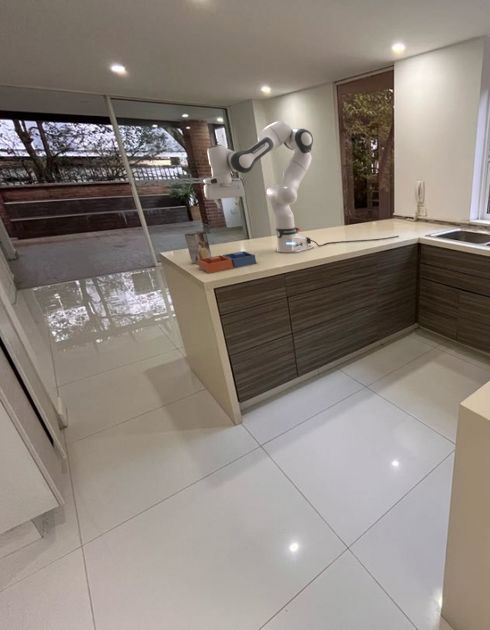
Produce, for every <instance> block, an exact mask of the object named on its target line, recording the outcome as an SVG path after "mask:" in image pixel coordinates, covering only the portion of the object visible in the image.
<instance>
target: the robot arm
mask: <svg viewBox="0 0 490 630" xmlns="http://www.w3.org/2000/svg"><path fill="white" fill-rule="evenodd" d="M313 143H314V137H313V134H312V133H311V131H309V130H308V129H306V128H293V129H292V128H291V127H290V125H289V124H288V123H287V122H286V121H285V120H282V119H281V120H277V121H275V122H273V123H271V124H268V125H267V126H266V127H264V128H263V129H261V130H260V132H258V134H257V142H256V143H255V144H254V145H252V146H251V147H249V148H248V149H246V150H240V151H234V150H232V149H230V148H227V147H225V146H224V145H223V144H216V145H211V146H209V147H208V148H207V157H208V163H209V166H210V169H211V176H210V177H207V178H204V179H203V184H204V185H203V192H204V197H205V199H207V200H208V201H209V200H210V201H212V200H213V202H214V204H216V208H217V209H221V208H222V204H221V203H219V200H221V199H231V198H234V199H235V201H234V202H233V203H234V206H235V207H238V206H239V205H240V204H239V202H240V197H245V196H246V192H245V189H244V185H243V181H242V180H241V179H240V178H232V174H231V171H232V172H236V173H242V174H247V173H250V172H251V171H252V169H253V168H254V166H255V164H256V163H257V162H258V160H260V159H262V157H263V156H265V155H267V154H268V153H269V152H270V153H271V152H272V151H274V150H276V149H278V148H279V147H281V146H282V145H283V144H284V146H285V147H286V148H287V149H289V150H291V151H293V153H292V157H291V159H290V160H289V161H288V162H287V165H286V166H285V168H284V170H283V171H282V179H281V182H280V183H279V184H277V183H275V184H272V185H270V186H269V187H268V188H267V189H266V196H267V198H268V200H269V202H270V205H271V208H272V212H273V215H274V221H275V233H276V239H277V240H276V241H277V244H276V245H277V246H276V252H278V253H294V254H296V253H300V252H304V251H307V250H312V249H313V246H312V245H311V244H312V243H314V244H315V245H316V246H318V247H323V246H326V245H329V244H340V243H341V244H342V243H352V242H353V243H356V242H371V241H381V240H388V239H395V238H398V237H400V235H394V236H387V237H382V238H374V239H373V238H371V239H358V240H357V239H356V240H341V241H330V242H325V243H323V244H318V242H317V241H315V240H312V239H311V238H310V237H309V236H306V237H305V236H304V235H302V234H301V233H299V232H301V230H302V228H301V227H296V225H295V224H296V223H295V217H294V213H293V211H292V209H291V206H290V205H293V204H295V203H296V202H297V200H298V191H299V187H300V185H301V182H302V181H303V179H304V178H305V176H306V174H307V172H308V170H309V168H310V166H311V163H312V162H313V161H312V160H313V157H312V154H311V151H312V146H313Z"/></svg>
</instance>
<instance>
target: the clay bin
mask: <svg viewBox="0 0 490 630" xmlns="http://www.w3.org/2000/svg"><path fill="white" fill-rule="evenodd" d="M217 256H218V257H220V258H221V262H215V263H210V264H208V259H207V258H203V259H198V268H199V269H200V270H202V271H204V272H207V273H208V274H211V273H218V272H221V271H226V270H227V271H228V270H232V269H234V267H233V264H232V260H231V259H229V258H226V257H224V256H222V255H217Z"/></svg>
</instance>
